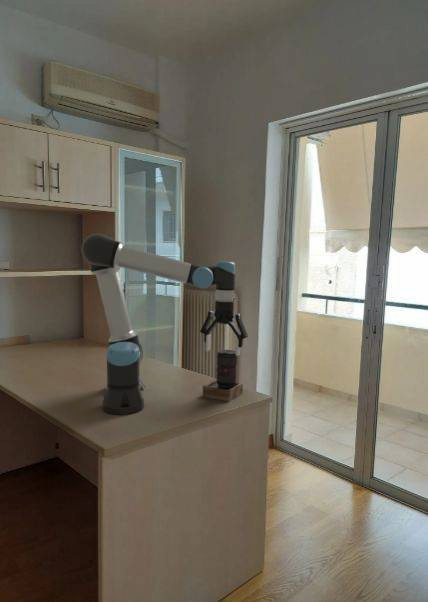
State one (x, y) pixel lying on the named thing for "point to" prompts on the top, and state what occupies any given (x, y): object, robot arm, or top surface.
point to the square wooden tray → (222, 391)
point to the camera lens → (226, 369)
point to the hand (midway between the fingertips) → (222, 352)
